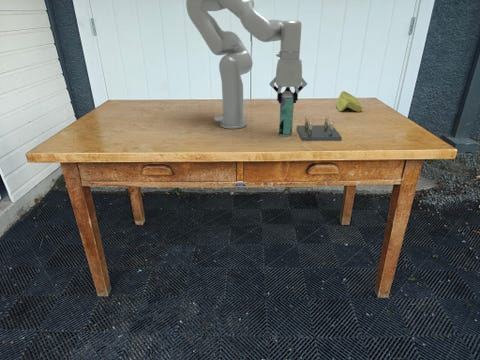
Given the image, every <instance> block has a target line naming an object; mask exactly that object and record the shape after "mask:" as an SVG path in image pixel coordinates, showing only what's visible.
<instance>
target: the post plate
mask: <svg viewBox="0 0 480 360" xmlns="http://www.w3.org/2000/svg"><path fill="white" fill-rule="evenodd" d="M329 117H330V116H329V115H326V116H325V118H324V125H323V124H322V125H321V124H317V125H316V124H313V122H312V121H310V117H309V116H308V115H307V116H305V122H304V123H305V124H304V125H302V124H301V125H296V131H297V132H298V134H299V137H300V138H301V139H300V140H301V141H303V142H306V141H307V142H308V141H309V142H310V141H313V142H314V141H316V142H317V141H318V142H319V141H320V142H321V141H324V142H325V141H326V142H327V141H329V142H330V141H335V142H336V141H342V138H343V137H342V135H341V134H340V133H339V132H338V130H337V129H336V128H335V127H334V124H335V123H334V121H330V122H329ZM309 121H310V122H309Z"/></svg>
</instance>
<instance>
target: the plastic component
mask: <svg viewBox="0 0 480 360" xmlns="http://www.w3.org/2000/svg"><path fill="white" fill-rule="evenodd" d="M346 108H348V109H350V110H352V111H355V112H356V113H360V112H361V111H362V109H363V108H364V106H363V105H362V104H361V102H360V100H359V99H358V98H357V97H356V96H354V95H353V94H351V93H348V92H347V91H345V90H343V91H341V92H340V94H339V96H338V98H337V101H336V109H337V110H338V112H340V111H341V112H343V111H344V110H345V109H346Z"/></svg>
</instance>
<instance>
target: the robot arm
mask: <svg viewBox="0 0 480 360" xmlns="http://www.w3.org/2000/svg"><path fill="white" fill-rule="evenodd" d="M185 4H186V5H185V6H186V11H187V14H188V17H189V19H190V21H191V22H192V24H193V25H194V27H195V28H196V29H197V31H198V32H199V34H200V35H201V36H200V37H202V39H203V40H204V42H205V44H206V45H207V46H208V48H209V50H210V51H211V53H212V54H214V56H222V57H221V59H220V60H219V63H218V68H219V74H220V75H219V76H220V79H221V94H222V95H221V96H222V115H220V116H213V121H215V122H218V123H219V122H220V123H219V126H220V127H221V128H225V129H227V130H228V129H231V130H236V129H237V130H238V129H243V128H245V127H246V126H247V124H248V122H247V121H246V120H244V84H243V80H242V76H241V75H245V74H248V73H249V72H250V71H251V70H252V68H253V58H252V56H251V55H250V52H249V51H248V50H247V47H245V45H244V43H243V41H242V40H241V38H240V37H239V36H238V34H236V33H235V32H233V31H230V30H229V31H224V30H223V29H222V28H221V27H220V25H219V23H218V22H217V20H216V19H215V18H214V17H213V16H212V15H211V14H210V13H209V12H218V11H221V10H225V9H227V10H228V11H230V13H232V14H234V16H235V17H237V18H238V19H239V21H240V23H241V24H242V26H243V28H244V29H245V30H246V31H247V32H248V33H249V34H250V35H252V36H253V37H255V39H257V40H258V41H260V42H263V43H271V42H277V41H280V45H279V47H280V48H279V52H276V55H275V56H276V57H277V58H278V57H279V59H277V64H276V69H275V70H276V71H275V76H274V78H273V79H272V80H271V81H270V82H269V86H270V87H271V88H272V89H274V91H275V92H276V93H277V96H276V97H277V98H276V99H277V102H278V104H280V103H281V93H282V89H283V88H286V87H290V88H291V87H292V88H293V87H294V92H293V93H294V104H297V101H298V98H299V93H300V92H301V91H302V90H303V89H304V88H305V87H306V86H307V85H308V83H307V82H306V80H305V79H304V77H303V64H302V63H303V62H302V59H301V58H300V52H301V40H302V37H301V36H302V22H301V21H300V20H297V19H296V20H293V19H292V20H291V19H290V20H279V19H267V18H265V17H263V16H262V15H261V14H260V13H259V12H257V11H256V10H255V2H254V0H186V2H185ZM275 84H276V85H275Z"/></svg>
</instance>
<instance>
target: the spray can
mask: <svg viewBox="0 0 480 360" xmlns="http://www.w3.org/2000/svg"><path fill="white" fill-rule="evenodd" d="M279 104H280V105H279V109H280V110H279V128H278V135H279V136H281V137H292V135H293V123H294V122H293V119H294V109H295V108H294V106H295V103H294V92H293V91H292V90H291V87H285V89H284V91H283V92H281V103H279Z"/></svg>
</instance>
